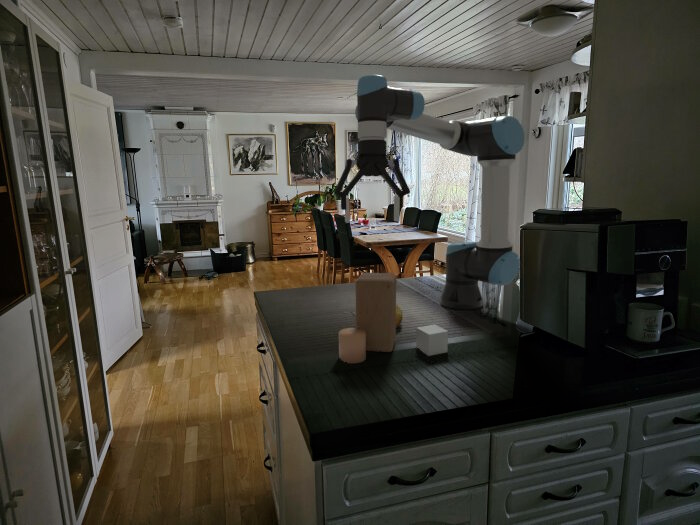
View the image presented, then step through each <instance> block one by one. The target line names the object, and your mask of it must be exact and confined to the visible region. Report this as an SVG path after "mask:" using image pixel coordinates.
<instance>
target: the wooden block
mask: <svg viewBox="0 0 700 525" xmlns="http://www.w3.org/2000/svg"><path fill="white" fill-rule="evenodd" d="M396 304H397V275H396V274H395V273H387V272H363V273H361V274H360V275H359V276H358V278H357V279H356V280H355V328H359V329H363V330H365V332H366V352H367V351H368V352H380V351H381V353H391V352H392V351H393V350H394V345H395V343H396V340H397V339H396V338H397V337H396V336H397V332H396V331H397V330H396V328H397V327H396Z"/></svg>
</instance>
